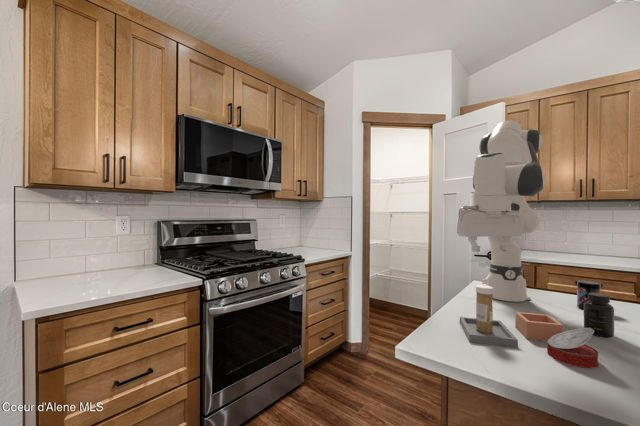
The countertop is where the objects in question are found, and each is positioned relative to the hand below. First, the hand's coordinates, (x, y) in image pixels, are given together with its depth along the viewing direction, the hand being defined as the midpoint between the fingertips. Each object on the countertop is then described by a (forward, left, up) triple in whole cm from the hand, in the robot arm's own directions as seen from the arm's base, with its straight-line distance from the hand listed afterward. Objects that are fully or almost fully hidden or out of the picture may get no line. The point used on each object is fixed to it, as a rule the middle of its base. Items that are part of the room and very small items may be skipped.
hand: (489, 251), depth 90 cm
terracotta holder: (-3, +14, -25) cm, 29 cm away
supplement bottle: (-10, +33, -25) cm, 42 cm away
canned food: (+11, +16, -25) cm, 32 cm away
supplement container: (-38, +44, -25) cm, 63 cm away
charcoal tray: (+1, -1, -25) cm, 25 cm away
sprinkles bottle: (+1, -1, -24) cm, 24 cm away
